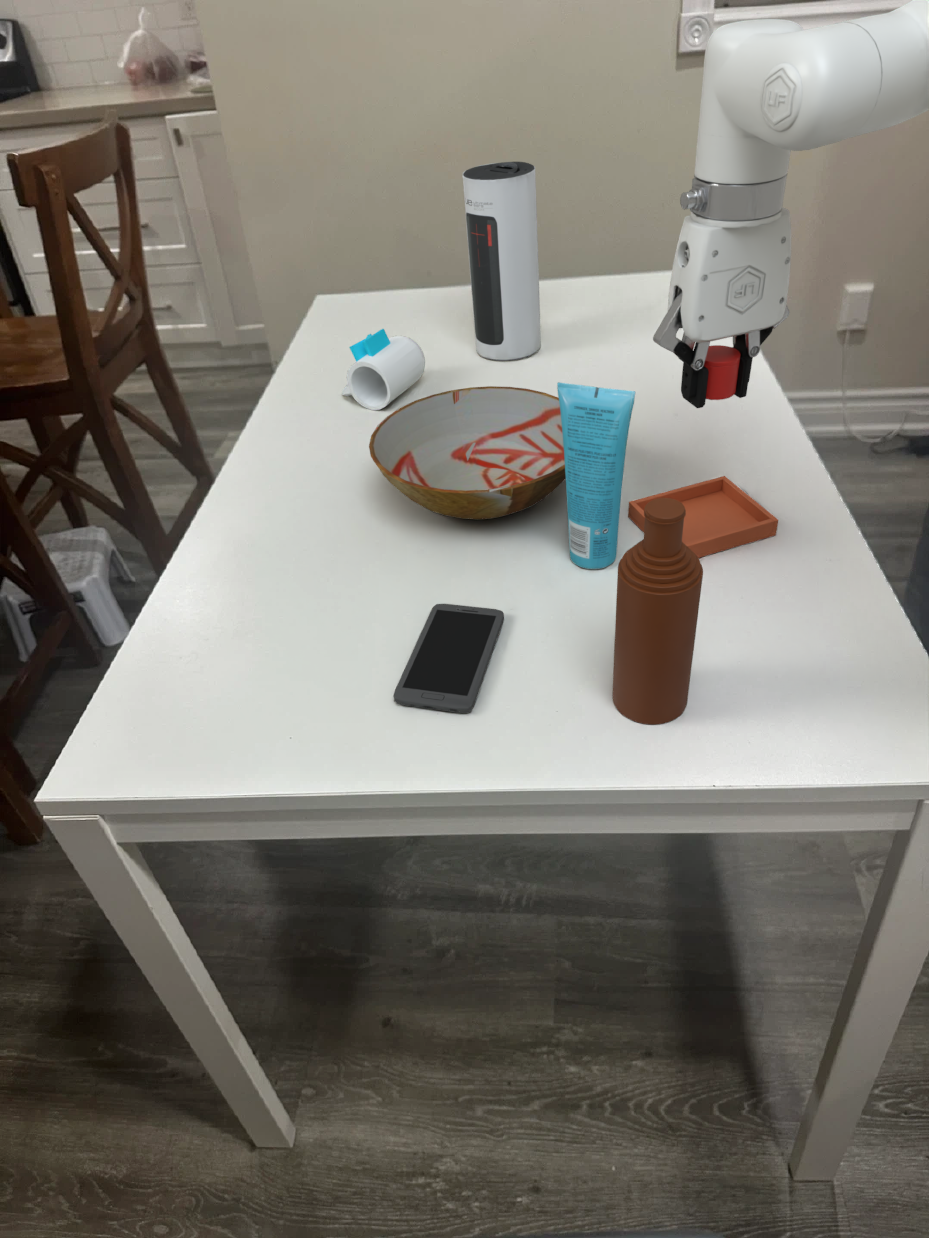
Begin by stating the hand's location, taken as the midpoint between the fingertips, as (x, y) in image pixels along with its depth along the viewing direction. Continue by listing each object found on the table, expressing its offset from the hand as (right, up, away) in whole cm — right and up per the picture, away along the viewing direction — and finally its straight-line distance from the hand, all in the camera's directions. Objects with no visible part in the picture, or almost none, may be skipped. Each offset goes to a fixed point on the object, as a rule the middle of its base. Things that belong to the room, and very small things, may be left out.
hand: (713, 395), depth 85 cm
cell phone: (-26, -26, -4) cm, 37 cm away
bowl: (-22, -7, +18) cm, 30 cm away
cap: (0, 0, 0) cm, 0 cm away
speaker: (-18, +21, +51) cm, 58 cm away
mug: (-37, +12, +43) cm, 58 cm away
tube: (-11, -16, +7) cm, 20 cm away
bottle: (-8, -29, -10) cm, 32 cm away
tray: (+1, -12, +10) cm, 15 cm away
